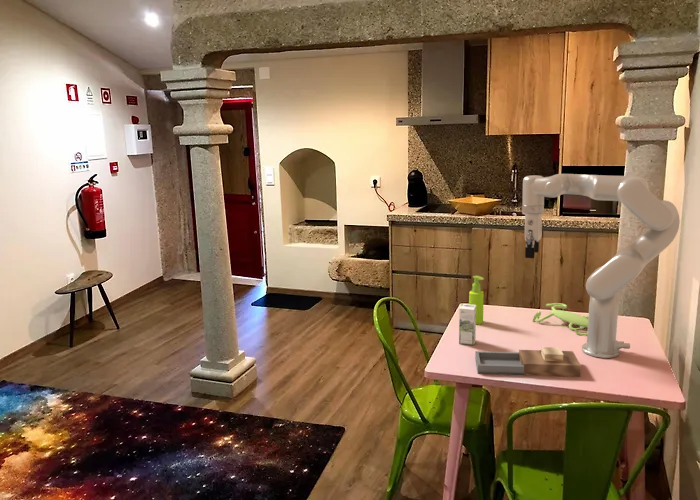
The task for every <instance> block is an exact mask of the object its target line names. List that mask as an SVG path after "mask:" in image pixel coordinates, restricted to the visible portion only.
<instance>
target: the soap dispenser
mask: <svg viewBox="0 0 700 500" xmlns="http://www.w3.org/2000/svg"><path fill="white" fill-rule="evenodd" d="M472 278H473V279H474V282H473V283H472V285H471V286H472V288H471V290H469V292H468V304H469V305H476V326H477V325H482V324H484V296H485V295H484V291H482V290H481V289H482V288H481V287H482V286H481V285H482V284H481V283H480V281H484V280H485V278H484V277H483V276H480V275H473V276H472Z"/></svg>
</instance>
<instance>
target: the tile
mask: <svg viewBox="0 0 700 500" xmlns="http://www.w3.org/2000/svg"><path fill="white" fill-rule="evenodd" d="M540 350H541V354H542V356H543V359H544V361H563V353H562V351H563V350H562V349H561V348H560V347H552V346H551V347H549V346H547V347H546V346H543V347H542V346H541V349H540Z"/></svg>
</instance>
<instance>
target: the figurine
mask: <svg viewBox="0 0 700 500" xmlns="http://www.w3.org/2000/svg"><path fill="white" fill-rule="evenodd" d="M545 307H551V312H550V313H549V314H547V315H545V316H543V317H541V314H542V312H541V311H537V312H536V313H535V315H534V316H533V318H532V323H535V322H537V323H542V322H543V321H545V320H547V319H549V318H551V317H552V316H554V317H555V318H558V319H559V320H562V321H564V322H565V324H568V329H570V330H572V331H574V333H575V334H576V335H577V336H582V335H586V336H587V332H584V333H583V332H579V331H577V330H580V329H581V330H583V329H584V328H588V317H589V315H586V316H585V315H580V314H577V313H573V312H571V311H566V310H565V309H567V308H568V305H567V304H565V303H562V302H561V303H559V302H554V303H546V304H545ZM560 309H564V310H560ZM540 317H541V318H540ZM573 325H576V326H577V328H575V327H573Z"/></svg>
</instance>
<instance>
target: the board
mask: <svg viewBox="0 0 700 500" xmlns="http://www.w3.org/2000/svg"><path fill="white" fill-rule="evenodd" d="M541 350H542V349H540V350H539V349H519V350H518V352H519V360H520V363H521V365H524V375H523V376H535V377H536V376H537V377H539V376H542V377H572V378H574V377H575V378H581V375H582V371H581V370H582V365H581V363H580V361H579V359H578V358H577V356H576V354H575V353H574V351H573V350H561V351H562V353H563V361H544V359H543V356H542V354H541Z"/></svg>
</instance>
